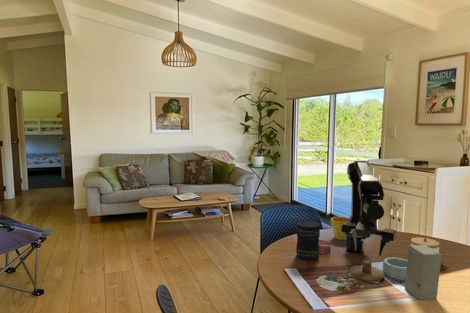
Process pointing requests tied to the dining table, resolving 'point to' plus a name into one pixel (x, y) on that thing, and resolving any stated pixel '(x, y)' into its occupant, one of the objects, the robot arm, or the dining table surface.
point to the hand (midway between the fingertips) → (367, 252)
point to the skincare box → (423, 272)
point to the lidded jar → (426, 243)
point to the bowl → (395, 268)
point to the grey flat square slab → (365, 280)
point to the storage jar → (308, 240)
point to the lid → (367, 272)
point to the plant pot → (338, 227)
